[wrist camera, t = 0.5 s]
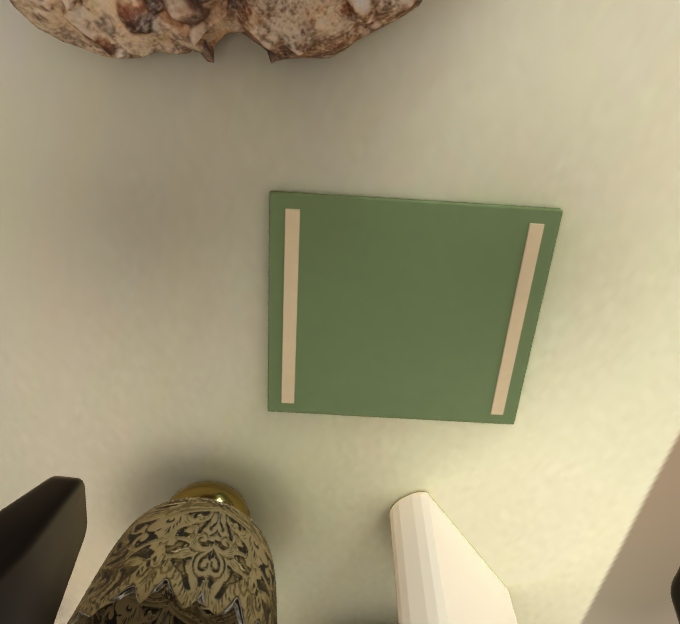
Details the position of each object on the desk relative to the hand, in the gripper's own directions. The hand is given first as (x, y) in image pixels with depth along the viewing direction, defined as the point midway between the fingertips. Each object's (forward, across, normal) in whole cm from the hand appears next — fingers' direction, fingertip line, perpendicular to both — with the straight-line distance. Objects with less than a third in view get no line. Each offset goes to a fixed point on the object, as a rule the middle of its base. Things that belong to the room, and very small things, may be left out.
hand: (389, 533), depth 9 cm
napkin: (+14, -2, +3) cm, 15 cm away
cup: (+14, +5, +14) cm, 20 cm away
